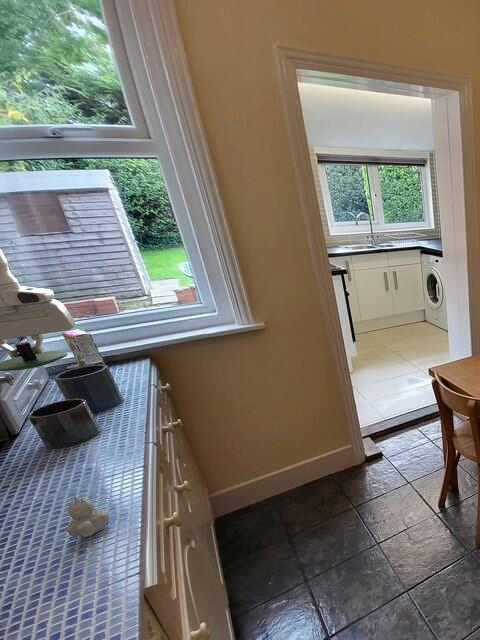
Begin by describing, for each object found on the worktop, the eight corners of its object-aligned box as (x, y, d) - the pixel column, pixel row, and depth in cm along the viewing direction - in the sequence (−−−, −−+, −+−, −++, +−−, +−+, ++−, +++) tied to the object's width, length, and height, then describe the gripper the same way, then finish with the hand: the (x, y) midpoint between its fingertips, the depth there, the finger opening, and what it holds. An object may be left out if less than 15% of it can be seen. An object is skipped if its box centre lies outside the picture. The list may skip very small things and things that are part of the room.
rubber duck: (115, 516, 79) (96, 482, 76) (112, 535, 74) (91, 500, 71) (76, 529, 76) (55, 495, 73) (70, 551, 71) (47, 515, 68)
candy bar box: (82, 375, 151) (60, 332, 144) (100, 370, 155) (79, 328, 148) (93, 380, 145) (71, 336, 139) (111, 375, 149) (90, 332, 142)
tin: (68, 419, 118) (48, 382, 114) (79, 404, 127) (60, 370, 122) (119, 407, 124) (102, 372, 119) (126, 394, 133) (110, 361, 128)
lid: (-16, 378, 92) (-29, 356, 90) (7, 362, 102) (-5, 342, 99) (60, 365, 98) (49, 344, 96) (75, 351, 107) (65, 332, 105)
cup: (39, 453, 101) (20, 422, 98) (53, 435, 109) (35, 406, 106) (95, 440, 106) (78, 409, 103) (104, 424, 114) (89, 395, 111)
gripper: (-82, 307, 86) (-43, 369, 91) (52, 293, 95) (81, 349, 101) (-66, 302, 90) (-29, 361, 96) (61, 289, 100) (87, 343, 106)
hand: (28, 354), depth 99 cm, fingers closed on lid, 2 cm apart
